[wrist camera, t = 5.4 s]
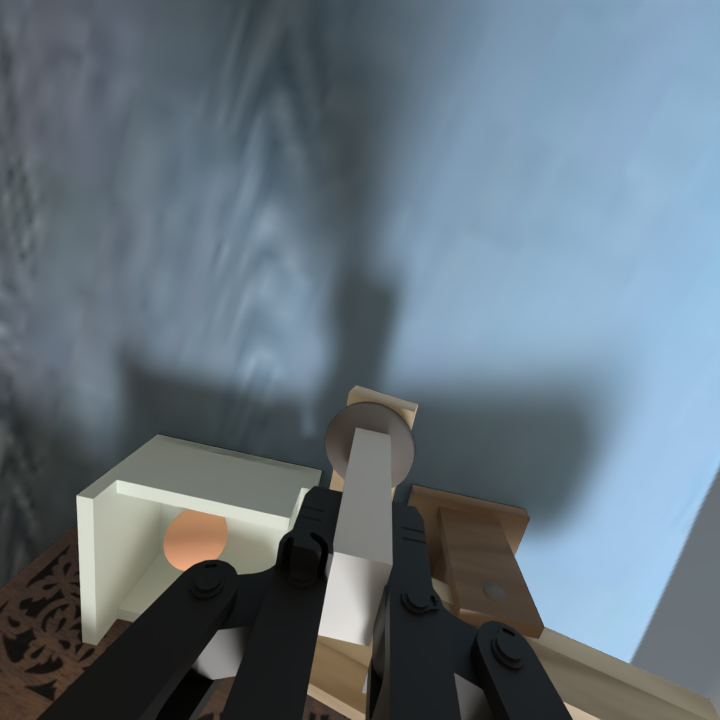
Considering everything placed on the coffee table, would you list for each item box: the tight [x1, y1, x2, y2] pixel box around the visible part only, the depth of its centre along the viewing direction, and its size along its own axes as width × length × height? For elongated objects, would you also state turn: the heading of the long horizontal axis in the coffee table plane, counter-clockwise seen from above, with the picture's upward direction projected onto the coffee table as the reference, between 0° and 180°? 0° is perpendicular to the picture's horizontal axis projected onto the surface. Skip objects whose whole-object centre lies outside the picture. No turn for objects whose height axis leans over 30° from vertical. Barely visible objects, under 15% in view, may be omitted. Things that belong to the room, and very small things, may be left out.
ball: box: [163, 509, 228, 571], centre depth 21 cm, size 4×4×4 cm
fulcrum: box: [407, 485, 544, 639], centre depth 20 cm, size 10×7×7 cm
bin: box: [76, 434, 322, 645], centre depth 20 cm, size 10×11×6 cm
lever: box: [307, 385, 720, 720], centre depth 15 cm, size 16×18×3 cm
